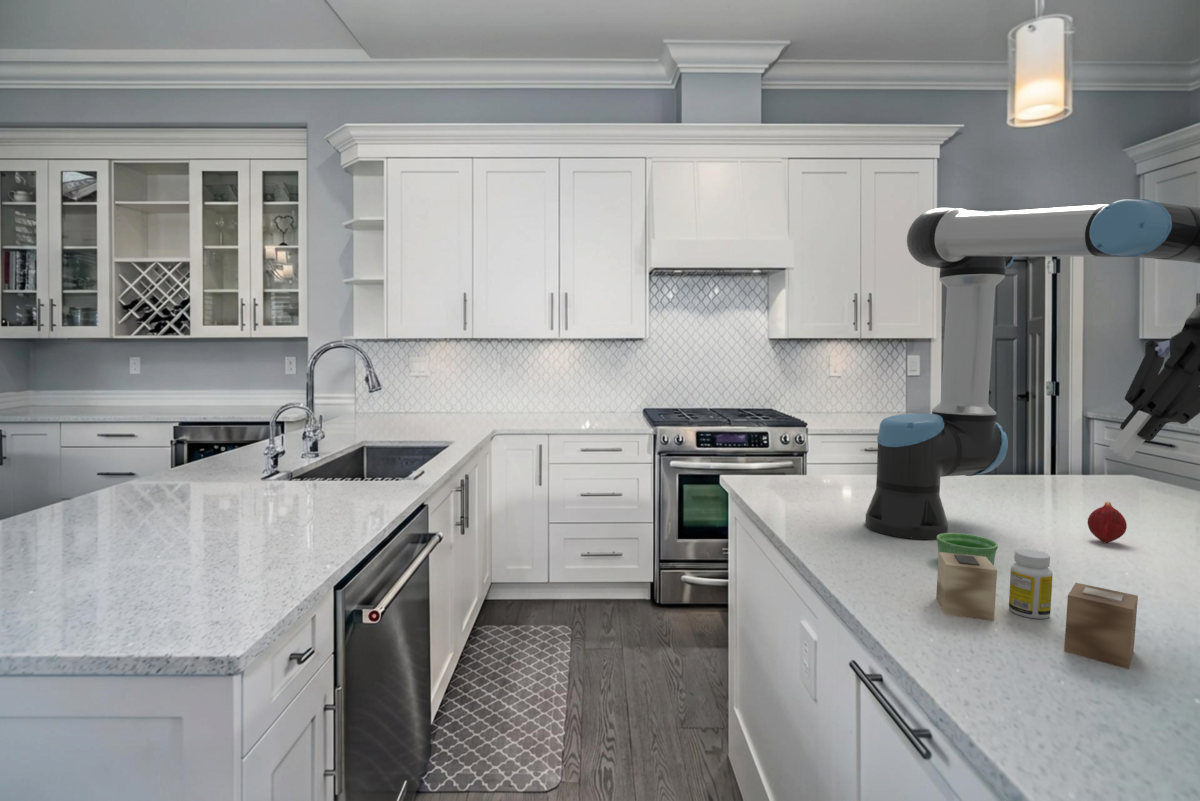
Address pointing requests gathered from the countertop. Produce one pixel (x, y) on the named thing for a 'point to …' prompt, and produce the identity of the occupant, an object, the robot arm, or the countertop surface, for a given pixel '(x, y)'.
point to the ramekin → (967, 545)
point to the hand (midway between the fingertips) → (1118, 454)
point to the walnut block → (1101, 624)
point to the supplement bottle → (1031, 584)
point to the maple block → (966, 586)
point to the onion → (1107, 523)
